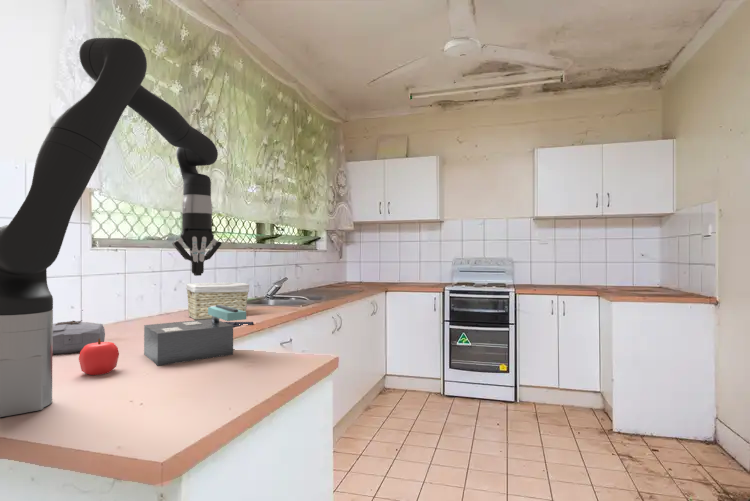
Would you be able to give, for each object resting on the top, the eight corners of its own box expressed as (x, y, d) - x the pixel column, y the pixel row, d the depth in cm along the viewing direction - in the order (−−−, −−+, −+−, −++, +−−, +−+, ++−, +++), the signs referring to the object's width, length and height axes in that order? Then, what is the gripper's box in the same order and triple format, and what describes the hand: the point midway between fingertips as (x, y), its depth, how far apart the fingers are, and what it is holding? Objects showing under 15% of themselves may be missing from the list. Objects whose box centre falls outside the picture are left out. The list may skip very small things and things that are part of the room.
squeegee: (202, 333, 154) (202, 325, 154) (216, 325, 169) (216, 318, 169) (243, 333, 155) (243, 325, 155) (253, 326, 170) (253, 318, 170)
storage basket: (239, 312, 204) (239, 281, 204) (250, 316, 190) (250, 283, 190) (185, 316, 190) (185, 283, 190) (192, 321, 177) (193, 285, 177)
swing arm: (205, 313, 125) (205, 304, 125) (222, 311, 128) (222, 303, 128) (227, 321, 111) (227, 311, 111) (246, 319, 114) (246, 309, 114)
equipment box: (233, 354, 119) (233, 317, 119) (157, 365, 107) (157, 324, 107) (213, 345, 131) (213, 311, 131) (144, 354, 119) (144, 316, 119)
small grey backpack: (107, 342, 136) (27, 348, 126) (107, 315, 136) (27, 320, 127) (102, 352, 122) (12, 360, 113) (102, 322, 122) (12, 328, 113)
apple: (100, 378, 96) (100, 342, 96) (69, 376, 97) (69, 341, 98) (127, 369, 104) (127, 335, 104) (98, 367, 105) (98, 334, 105)
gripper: (217, 214, 126) (217, 274, 126) (168, 212, 117) (168, 275, 117) (226, 212, 120) (226, 275, 120) (174, 210, 112) (174, 277, 112)
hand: (197, 275), depth 119 cm, fingers closed
